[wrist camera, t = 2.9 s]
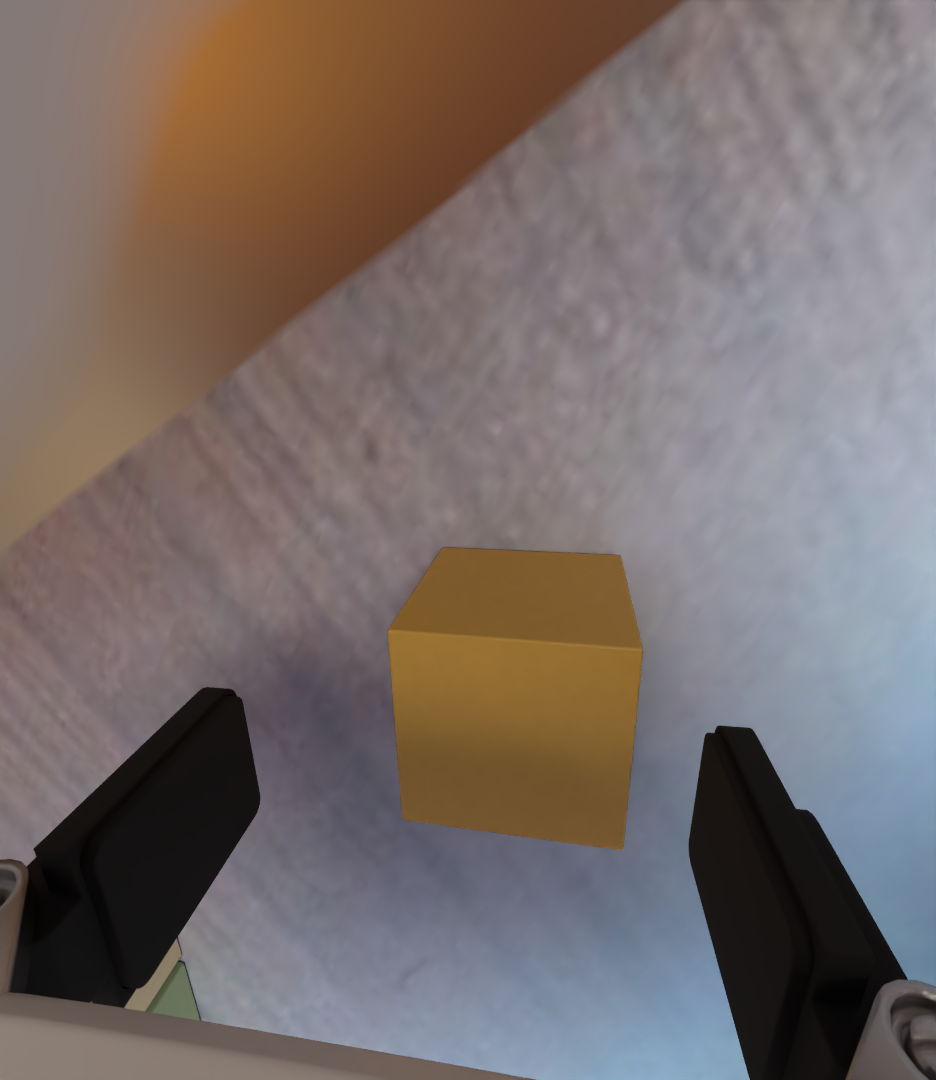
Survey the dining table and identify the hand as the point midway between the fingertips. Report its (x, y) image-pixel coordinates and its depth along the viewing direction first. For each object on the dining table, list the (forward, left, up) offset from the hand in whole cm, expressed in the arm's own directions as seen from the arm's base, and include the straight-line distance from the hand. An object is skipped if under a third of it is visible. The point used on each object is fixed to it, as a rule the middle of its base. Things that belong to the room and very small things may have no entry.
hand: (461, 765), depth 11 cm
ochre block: (0, +1, -6) cm, 6 cm away
